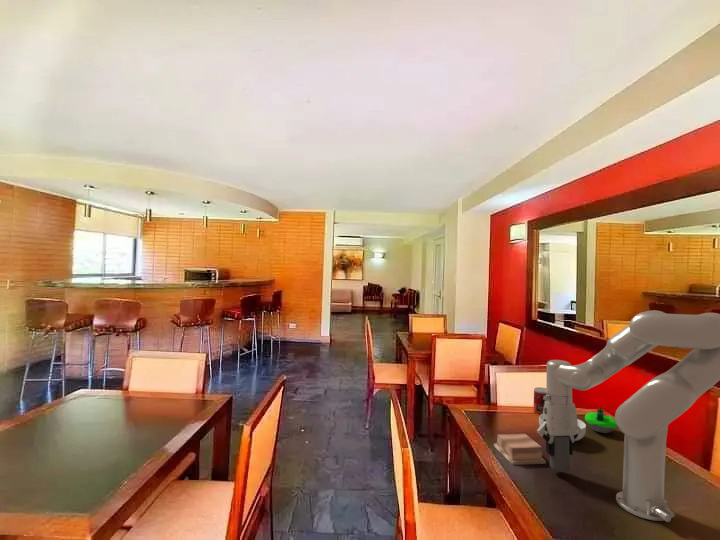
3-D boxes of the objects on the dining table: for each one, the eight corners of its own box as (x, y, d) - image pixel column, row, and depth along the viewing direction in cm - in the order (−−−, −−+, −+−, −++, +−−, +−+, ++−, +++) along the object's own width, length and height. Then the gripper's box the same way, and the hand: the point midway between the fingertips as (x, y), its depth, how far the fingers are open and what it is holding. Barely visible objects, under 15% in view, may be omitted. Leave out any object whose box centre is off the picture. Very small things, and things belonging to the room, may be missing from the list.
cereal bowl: (565, 450, 146) (566, 431, 146) (529, 433, 161) (529, 416, 161) (595, 443, 153) (596, 425, 153) (557, 426, 168) (558, 410, 168)
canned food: (536, 415, 180) (536, 391, 180) (531, 409, 188) (532, 386, 188) (553, 417, 179) (554, 393, 179) (548, 410, 187) (549, 387, 187)
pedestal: (545, 463, 136) (545, 449, 136) (512, 464, 134) (513, 450, 134) (523, 445, 150) (524, 432, 150) (493, 446, 148) (494, 432, 148)
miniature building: (617, 440, 156) (618, 413, 156) (583, 432, 163) (585, 406, 162) (616, 429, 167) (617, 404, 166) (584, 422, 173) (586, 398, 172)
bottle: (572, 472, 126) (571, 425, 126) (552, 470, 127) (552, 423, 127) (566, 463, 131) (566, 418, 132) (547, 462, 132) (547, 417, 133)
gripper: (541, 403, 125) (541, 460, 124) (591, 401, 127) (591, 457, 126) (528, 396, 132) (528, 450, 132) (575, 394, 134) (576, 447, 134)
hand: (559, 453), depth 129 cm, fingers closed on bottle, 5 cm apart
